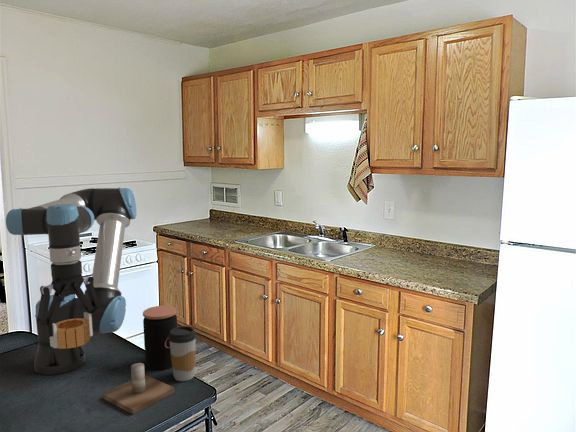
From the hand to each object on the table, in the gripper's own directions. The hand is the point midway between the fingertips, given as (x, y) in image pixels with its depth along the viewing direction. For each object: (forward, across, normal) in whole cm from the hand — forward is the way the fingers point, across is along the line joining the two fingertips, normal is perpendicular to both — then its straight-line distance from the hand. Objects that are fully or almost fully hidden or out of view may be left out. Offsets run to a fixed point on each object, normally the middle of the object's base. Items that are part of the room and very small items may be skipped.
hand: (72, 340), depth 127 cm
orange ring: (0, 0, 0) cm, 0 cm away
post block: (+18, +12, -12) cm, 25 cm away
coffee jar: (+18, +29, -1) cm, 34 cm away
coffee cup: (+18, +27, -14) cm, 35 cm away
